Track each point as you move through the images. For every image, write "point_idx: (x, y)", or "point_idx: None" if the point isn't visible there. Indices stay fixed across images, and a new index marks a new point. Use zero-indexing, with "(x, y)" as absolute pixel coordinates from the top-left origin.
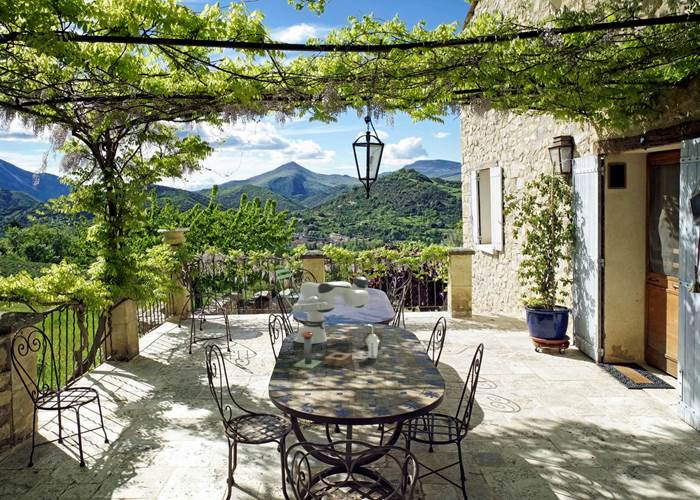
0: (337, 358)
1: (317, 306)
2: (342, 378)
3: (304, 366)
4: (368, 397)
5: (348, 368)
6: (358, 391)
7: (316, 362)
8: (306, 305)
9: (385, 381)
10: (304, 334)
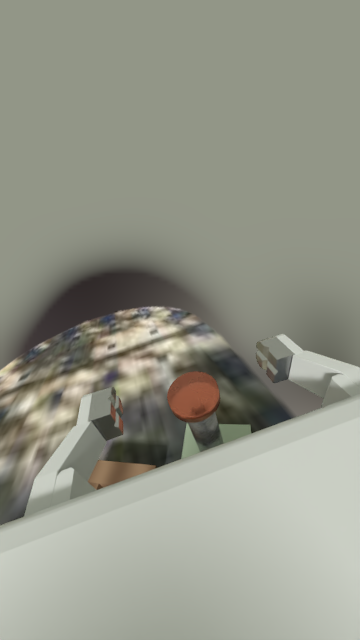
0: (109, 472)
1: (87, 395)
2: None
3: None
4: (75, 350)
5: None
6: (85, 359)
7: None
8: (270, 428)
9: (29, 407)
10: (196, 372)
